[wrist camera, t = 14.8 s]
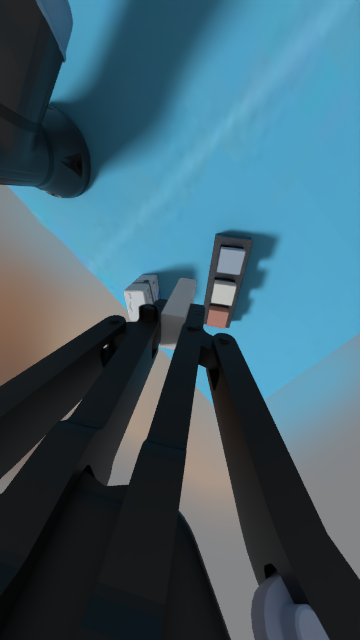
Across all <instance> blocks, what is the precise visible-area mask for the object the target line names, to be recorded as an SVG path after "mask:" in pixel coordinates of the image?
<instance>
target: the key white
mask: <svg viewBox="0 0 360 640" xmlns="http://www.w3.org/2000/svg"><path fill="white" fill-rule="evenodd" d="M235 290H236V283H233V282H231V281H229V280H222V279H217V280H215V283H214V288H213V293H212V299H211V303H217V304H223V305H230V306H232V302H233V298H234V294H235Z"/></svg>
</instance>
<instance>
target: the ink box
mask: <svg viewBox="0 0 360 640" xmlns="http://www.w3.org/2000/svg"><path fill="white" fill-rule="evenodd" d="M124 295H125V300H126V304H127V308H128V313H129V318H130V320H131V321H135V322H136V321H137V320H138V319H139V308H138V307H139V306H140V305H143V304H154V302H155V301H156V300H158V299H160V293H159V286H158V279H157V275H141V276H140V277H139V278H137V279H136V280H135V281H134V282H133V283H132V284H131V285H130V286H129V287H127V288H126V289H125V290H124Z"/></svg>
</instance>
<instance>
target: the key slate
mask: <svg viewBox="0 0 360 640" xmlns="http://www.w3.org/2000/svg"><path fill="white" fill-rule="evenodd" d="M244 256H245V250H244V249H238V248H229V247H221V251H220V256H219V261H218V267H217V272H221V273H228V274H236V275H240V271H241V267H242V263H243V259H244Z"/></svg>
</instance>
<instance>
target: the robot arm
mask: <svg viewBox="0 0 360 640" xmlns="http://www.w3.org/2000/svg"><path fill="white" fill-rule="evenodd" d="M72 27H73V19H72V13H71V8H70V5H69V3H68V0H0V185H16V186H32V187H36V188H38V189H40V190H43V191H45V192H46V193H48V194H50V195H52V196H55V197H59V198H74V197H77V196H79V195H80V194H81V193H82V192H83V191H84V190H85V188H86V187H87V185H88V182H89V178H90V157H89V153H88V149H87V146H86V143H85V141H84V139H83V136H82V135H81V133H80V131H79V129H78V128H77V127H76V125H75V124H74V123H73V122H72V120H71V119H70V118H69V117H67V116H66V115H65V114H64V113H62V112H61V111H59V110H57V109H55V108H54V107H52V106H50V105H48V104H49V101H50V98H51V95H52V92H53V89H54V86H55V83H56V80H57V77H58V74H59V71H60V68H61V65H62V62H64V63H65V61H66V50H67V46H68V43H69V39H70V36H71V32H72ZM196 281H197V280H194V279H187V278H180V279H179V281H178V283H177V285H176V286H175V288H174V290H173V292H172V294H171V296H170V298H169V300H165V299H158V300H156V301H155V302H154V304H143V305H140V306H139V307H138V308H139V319H138V320H137V321H136V322H126V320H125V318H124V317H122V316H119V315H113V316H109V317H107V318H105V319H104V320H102V321H101V322H99V323H98V324H96V325H94V326H93V327H91V328H90V329H88V330H87V331H85V332H84V333H82V334H81V335H79V336H77V337H76V338H74V339H73V340H71V341H70V342H68V343H67V344H65V345H64V346H62V347H60V348H59V349H57V350H56V351H54V352H53V353H51V354H50V355H48V356H47V357H45V358H43V359H42V360H40V361H39V362H37V363H36V364H34V365H33V366H31V367H30V368H28V369H27V370H25V371H23V372H22V373H20V374H19V375H17V376H16V377H14V378H13V379H11V380H9V381H8V382H7V383H5V384H3V385H2V386H0V479H1V478H2V477H3V476H4V475H5V474H6V473H7V472H8V471H9V470H10V469H12V468H13V466H15V465H16V464H17V463H18V462H19V461H20V460H21V459H22V458H23V457H24V456H25V455H26V454H27V453H28V452H29V451H30V450H31V449H32V448H33V447H34V446H35V445H36V444H37V443H38V442H39V441H40V440H41V439H42V438H43V437H44V436H45V435H46V436H45V437H44V438H43V440H42V441H41V443H40V444H39V445H38V447H37V448H36V449H35V450H34V452H33V453H32V455H31V456H30V457H29V459H28V460H27V461H26V463H25V464H24V465H23V467H22V468H21V469H20V471H19V472H18V473H17V475H16V476H15V477H14V479H13V480H12V481H11V483H10V484H9V486H8V487H7V488H6V489H5V491H4V492H3V493H2V494H0V640H231V638H230V636H229V633H228V630H227V627H226V624H225V621H224V619H223V616H222V613H221V610H220V607H219V604H218V602H217V599H216V596H215V594H214V590H213V588H212V585H211V582H210V579H209V576H208V573H207V570H206V568H205V565H204V562H203V559H202V556H201V554H200V551H199V548H198V545H197V542H196V540H195V537H194V535H193V532H192V530H191V528H190V526H189V524H188V523H187V521H186V520H185V518H184V516H183V515H182V514H181V513H180V512H179V510H178V509H179V503H180V496H181V488H182V481H183V474H184V467H185V459H186V448H187V440H188V433H189V426H190V419H191V412H192V405H193V398H194V391H195V383H196V376H197V369H198V364H199V365H201V366H203V367H205V368H206V372H207V377H208V381H209V386H210V390H211V395H212V399H213V404H214V408H215V413H216V417H217V422H218V426H219V431H220V435H221V440H222V444H223V449H224V453H225V458H226V462H227V467H228V471H229V476H230V480H231V484H232V489H233V494H234V498H235V503H236V507H237V512H238V516H239V521H240V525H241V529H242V533H243V537H244V541H245V545H246V549H247V553H248V556H249V559H250V561H251V564H252V568H253V571H254V573H255V577H256V580H257V582H258V584H259V587H258V588H257V590H256V591H255V594H254V597H253V600H252V608H251V619H252V629H253V633H254V638H255V640H360V579H359V578H358V577H357V575H356V574H355V572H354V571H353V570H352V568H351V567H350V565H349V564H348V562H347V561H346V560H345V558H344V557H343V555H342V554H341V553H340V551H339V550H338V548H337V547H336V545H335V544H334V543H333V541H332V540H331V538H330V537H329V536H328V534H327V532H326V530H325V528H324V526H323V524H322V522H321V519H320V517H319V515H318V513H317V511H316V509H315V507H314V505H313V503H312V500H311V498H310V496H309V494H308V492H307V490H306V488H305V486H304V484H303V481H302V480H301V477H300V475H299V473H298V471H297V469H296V467H295V465H294V463H293V460H292V458H291V456H290V454H289V452H288V450H287V448H286V446H285V444H284V441H283V439H282V437H281V435H280V433H279V431H278V429H277V427H276V424H275V422H274V420H273V418H272V416H271V414H270V412H269V410H268V408H267V406H266V403H265V401H264V399H263V397H262V395H261V393H260V391H259V389H258V387H257V384H256V382H255V380H254V378H253V376H252V374H251V372H250V370H249V368H248V365H247V363H246V361H245V359H244V357H243V355H242V353H241V351H240V349H239V346H238V344H237V342H236V340H235V339H234V338H233V337H232V336H231V335H229V334H226V333H217V334H215V335H214V336H212V335H210V334H208V333H206V332H205V331H204V329H203V324H204V317H205V310H206V309H205V307H204V305H199V304H193V302H194V295H195V288H196ZM159 343H160V347H163V348H168V349H173V350H174V354H173V357H172V360H171V363H170V366H169V370H168V373H167V376H166V379H165V382H164V386H163V389H162V392H161V396H160V399H159V402H158V405H157V408H156V411H155V414H154V418H153V421H152V424H151V427H150V430H149V433H148V436H147V439H146V440H145V441H144V442H143V444H142V447H141V449H140V452H139V455H138V458H137V461H136V464H135V467H134V470H133V473H132V477H131V480H130V483H129V485H117V486H107V484H108V481H109V478H110V474H111V470H112V464H113V461H114V458H115V455H116V453H117V450H118V448H119V445H120V443H121V441H122V438H123V436H124V433H125V431H126V429H127V426H128V424H129V421H130V419H131V416H132V414H133V412H134V409H135V407H136V404H137V402H138V399H139V397H140V394H141V392H142V390H143V387H144V385H145V382H146V380H147V378H148V375H149V373H150V370H151V368H152V365H153V363H154V360H155V358H156V355H157V353H158V346H159ZM105 345H107V347H106V348H103V347H104V346H105ZM81 400H82V401H81ZM80 401H81V402H80ZM79 402H80V404H79V405H78V406H77V408H76V409H75V411H74V412H73V414H72V415H71V416H70V417H69V418H68V419H67V420H63V421H60V420H61V419H63V417H64V416H65V415H67V414H68V413H69V412H70V411H71V410H72V409H73V408H74V407H75V406H76V405H77V404H78V403H79Z"/></svg>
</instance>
